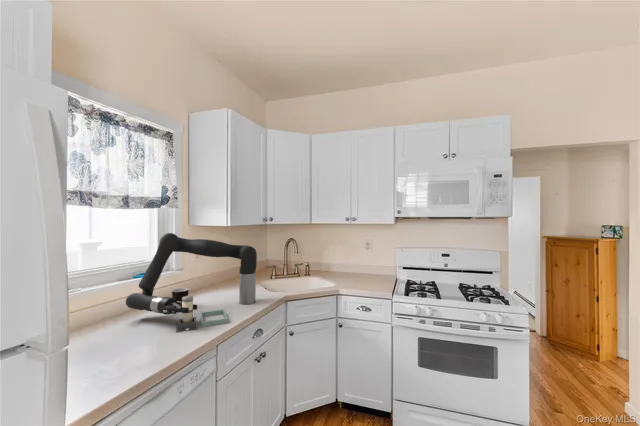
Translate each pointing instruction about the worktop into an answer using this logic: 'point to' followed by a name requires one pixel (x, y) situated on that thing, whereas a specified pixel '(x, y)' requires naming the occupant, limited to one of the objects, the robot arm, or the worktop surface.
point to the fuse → (188, 303)
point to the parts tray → (213, 322)
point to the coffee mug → (179, 293)
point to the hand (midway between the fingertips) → (192, 308)
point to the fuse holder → (187, 325)
